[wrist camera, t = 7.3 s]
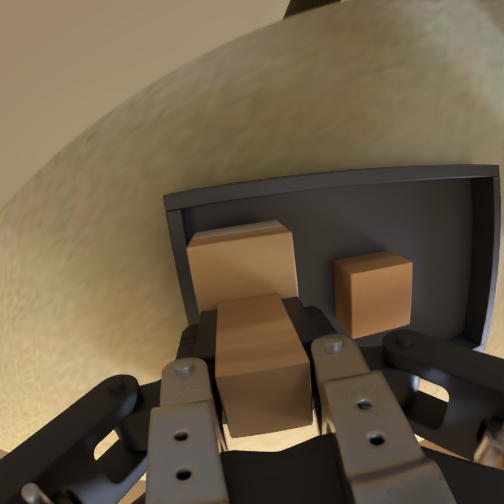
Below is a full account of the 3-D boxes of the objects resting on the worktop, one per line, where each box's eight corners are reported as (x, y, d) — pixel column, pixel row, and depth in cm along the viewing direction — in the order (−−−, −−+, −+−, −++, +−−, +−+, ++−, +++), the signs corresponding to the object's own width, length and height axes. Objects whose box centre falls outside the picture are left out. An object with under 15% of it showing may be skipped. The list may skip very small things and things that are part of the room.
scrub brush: (194, 232, 15) (158, 295, 7) (276, 219, 15) (337, 266, 7) (219, 356, 17) (219, 482, 8) (290, 345, 17) (337, 462, 8)
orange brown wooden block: (332, 259, 19) (350, 274, 16) (388, 250, 19) (412, 261, 16) (335, 318, 20) (351, 340, 17) (388, 306, 20) (410, 324, 17)
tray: (172, 192, 18) (162, 195, 15) (472, 164, 19) (499, 165, 16) (216, 398, 21) (216, 425, 18) (464, 335, 22) (484, 350, 19)
